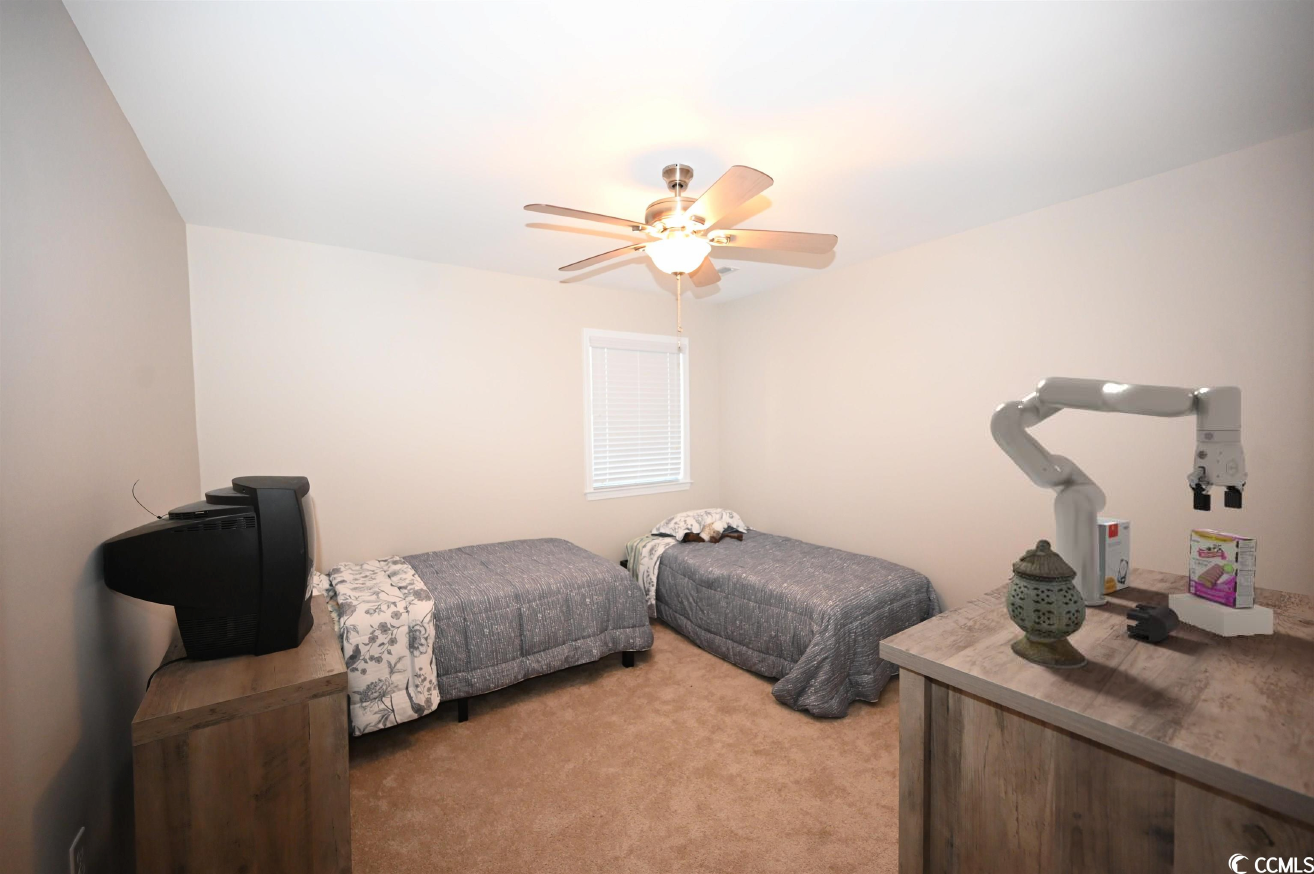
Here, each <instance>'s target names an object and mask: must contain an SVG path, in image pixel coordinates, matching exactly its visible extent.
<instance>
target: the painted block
mask: <svg viewBox="0 0 1314 874" xmlns="http://www.w3.org/2000/svg"><path fill="white" fill-rule="evenodd" d="M1168 607H1169V608H1171V609H1172V610H1174V611H1175V612H1176V614H1177V615H1178V617H1179V620H1181V621H1180V622H1182V621H1183V622H1182V623H1185V622H1187V623H1186V624H1188V623H1189V624H1188V625H1190V624H1191V626H1193V625H1195V626H1194V627H1196V626H1197V627H1196V628H1199V629H1202V628H1203V629H1202V630H1204V629H1205V631H1208V632H1210V631H1211V632H1210V633H1213V632H1214V633H1213V634H1215V633H1216V634H1215V635H1218V634H1220V635H1219V636H1221V635H1222V637H1224V636H1225V637H1238V636H1237V635H1245V636H1255V635H1254V634H1265V635H1273V634H1274V609H1272V608H1269V607H1265V606H1261V605H1259V604H1256V603H1255V604H1254V607H1253V608H1233V607H1230V606H1227V605H1224V604H1221V603H1218V602H1214V601H1211V600H1208V599H1205V598H1202V597H1199V596H1196V595H1193V594H1190V593H1173V594H1171V593H1170V594H1168Z"/></svg>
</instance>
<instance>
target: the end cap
mask: <svg viewBox="0 0 1314 874" xmlns="http://www.w3.org/2000/svg"><path fill="white" fill-rule="evenodd" d="M1134 607H1135V608H1130V609H1128V610H1127V612H1126V620H1129V621H1134V622H1136V623H1135V625H1132V624H1128V623H1127V624H1126V631H1127V638H1128V637H1129V638H1128V639H1132V640H1136V641H1140V640H1141V642H1144V641H1145V643H1148V644H1149V643H1150V644H1154V643H1158V642H1159V641H1162V640H1163V639H1165V638H1166V637H1167V636H1168V635H1170V634H1171V633H1172V632H1173V631H1174V630H1176V628H1178V627H1179V624H1180V621H1179V617H1178V615H1177V614H1176V612H1175V611H1174V610H1172V609H1171V608H1169V606H1167V605H1165V604H1161V605H1159V606H1158V607H1157V606H1154V605H1148V604H1143V603H1138V604H1136V605H1135V606H1134Z"/></svg>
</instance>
